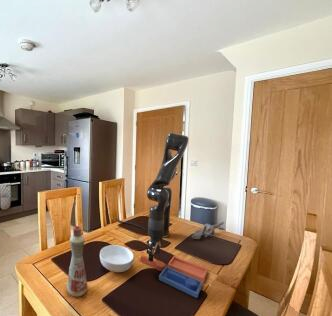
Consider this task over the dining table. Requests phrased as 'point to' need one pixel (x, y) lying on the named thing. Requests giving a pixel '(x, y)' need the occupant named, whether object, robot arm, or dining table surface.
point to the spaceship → (206, 230)
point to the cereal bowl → (116, 258)
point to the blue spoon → (182, 280)
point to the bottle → (77, 265)
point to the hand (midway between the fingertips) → (154, 257)
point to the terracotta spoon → (153, 263)
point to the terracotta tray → (188, 268)
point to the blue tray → (178, 285)
